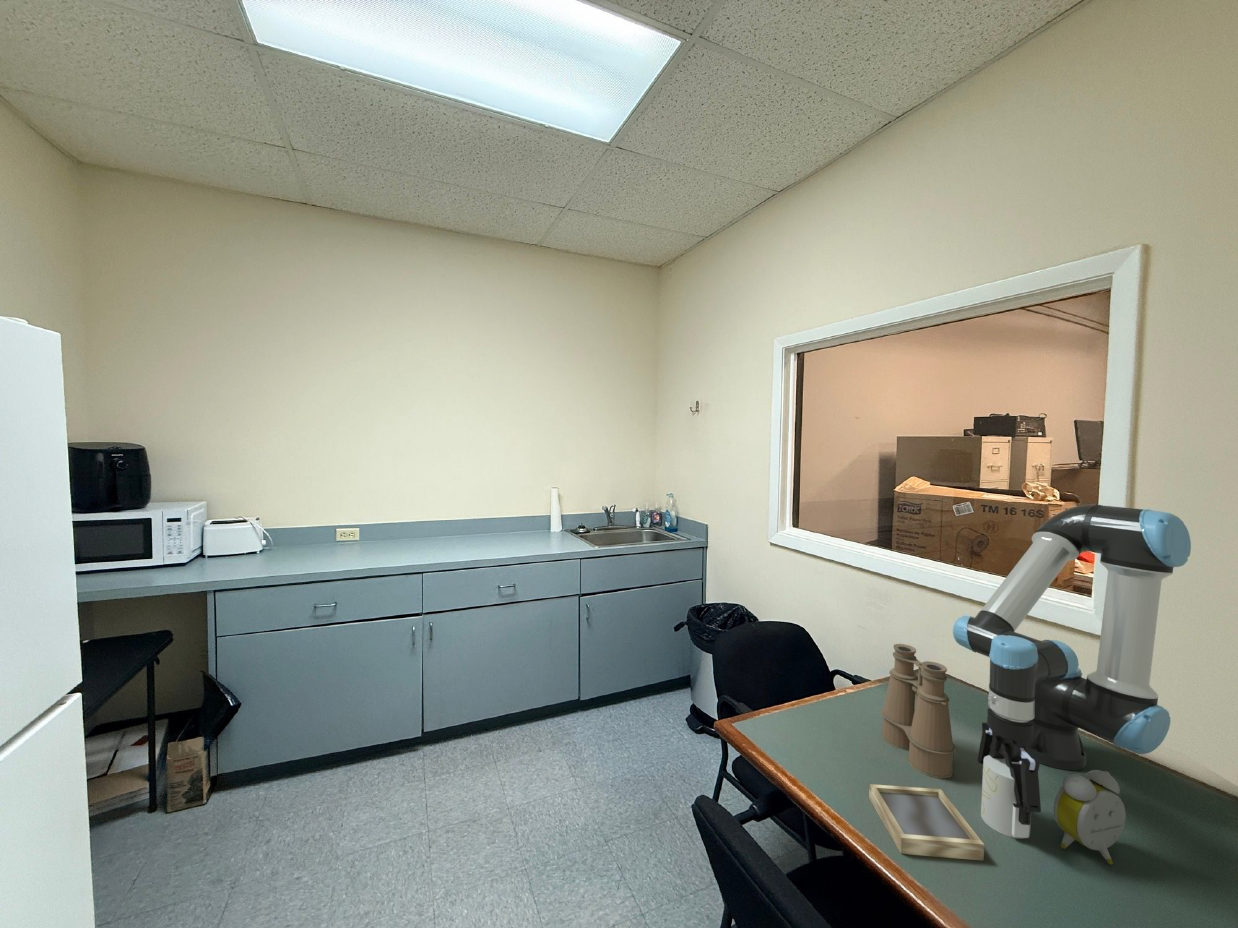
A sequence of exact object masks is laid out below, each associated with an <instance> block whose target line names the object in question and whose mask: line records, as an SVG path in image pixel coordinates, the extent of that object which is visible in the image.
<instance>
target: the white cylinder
mask: <svg viewBox="0 0 1238 928" xmlns="http://www.w3.org/2000/svg"><path fill="white" fill-rule="evenodd" d="M1012 763H1015V764H1020V762H1012ZM981 783H982V784H981V802H980V803H981V804H980V817H981V819H982V821H983V822H984V823H985V824H986V825H987V826H989V827H990V828H991V829H993V830H994V831H996V832H997V833H1000V834H1001V835H1004V836H1006V837H1010V838H1014V839H1023V838H1022V837H1014V836H1013V835H1012V814H1013V803H1016V798H1015V793H1014V779H1013V778H1012V777H1011V773H1010V769H1009V767H1007V765H1006V761H1005V759H998V758H992V757H991V756H990V755H988V756H985V757H984V760H983V765H982V781H981ZM1022 801H1023V800H1022ZM1030 819H1032V817H1031V818H1030ZM1030 821H1031V820H1030ZM1031 822H1032V821H1031ZM1031 822H1030V825H1029V836H1030V835H1031V824H1032V823H1031Z"/></svg>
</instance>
